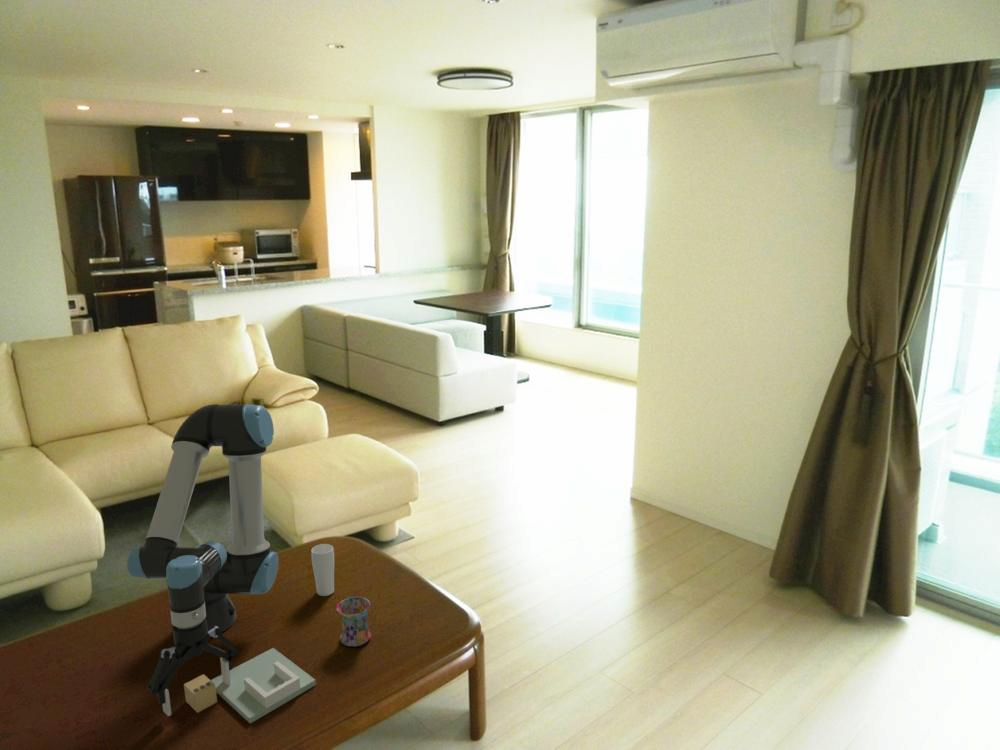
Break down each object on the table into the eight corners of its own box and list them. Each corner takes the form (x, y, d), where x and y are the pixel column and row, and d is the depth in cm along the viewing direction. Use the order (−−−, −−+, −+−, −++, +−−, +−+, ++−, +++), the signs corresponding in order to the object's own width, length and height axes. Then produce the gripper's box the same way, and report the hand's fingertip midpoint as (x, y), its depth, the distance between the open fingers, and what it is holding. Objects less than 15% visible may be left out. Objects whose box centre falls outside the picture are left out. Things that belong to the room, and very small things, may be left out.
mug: (373, 646, 192) (371, 612, 190) (339, 652, 190) (336, 617, 187) (370, 622, 203) (368, 589, 201) (338, 627, 201) (335, 594, 199)
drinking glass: (338, 586, 223) (335, 543, 219) (334, 597, 216) (331, 553, 213) (317, 586, 223) (313, 543, 219) (312, 598, 216) (308, 554, 212)
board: (209, 686, 177) (207, 670, 176) (273, 652, 190) (272, 638, 189) (250, 723, 164) (248, 707, 163) (315, 684, 177) (314, 669, 176)
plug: (186, 701, 172) (183, 683, 171) (205, 691, 175) (203, 673, 174) (197, 713, 168) (194, 694, 167) (217, 702, 172) (215, 684, 170)
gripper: (139, 651, 154) (149, 733, 159) (247, 604, 173) (254, 678, 177) (125, 638, 159) (136, 717, 164) (232, 594, 178) (239, 666, 182)
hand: (197, 699), depth 171 cm, fingers open, 14 cm apart
